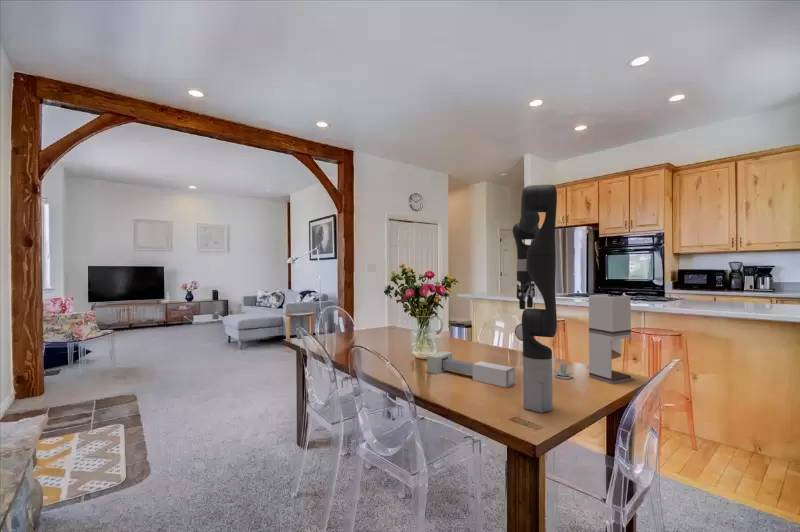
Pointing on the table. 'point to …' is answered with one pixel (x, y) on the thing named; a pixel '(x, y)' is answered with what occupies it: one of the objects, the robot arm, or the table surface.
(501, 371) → the grey sleeve
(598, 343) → the grey notched tower
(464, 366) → the steel tube
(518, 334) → the magnifying glass
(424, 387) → the table surface
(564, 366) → the pacifier
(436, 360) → the socket block
